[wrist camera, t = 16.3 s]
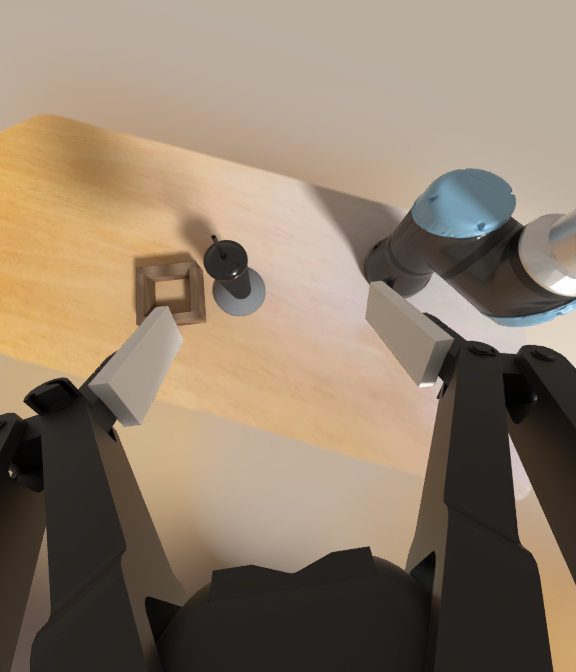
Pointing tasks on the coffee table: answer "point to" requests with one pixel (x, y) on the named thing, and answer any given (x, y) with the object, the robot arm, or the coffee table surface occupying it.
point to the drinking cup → (229, 266)
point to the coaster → (241, 305)
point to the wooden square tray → (164, 273)
